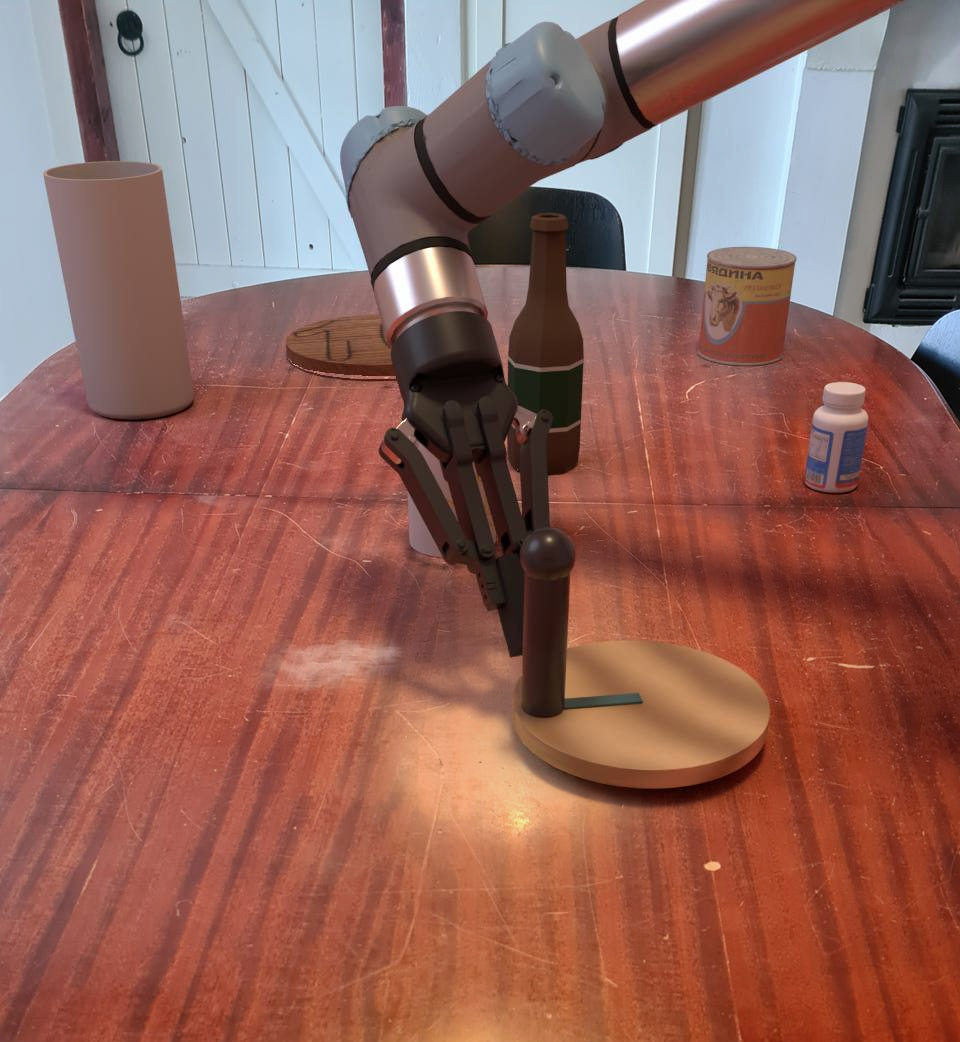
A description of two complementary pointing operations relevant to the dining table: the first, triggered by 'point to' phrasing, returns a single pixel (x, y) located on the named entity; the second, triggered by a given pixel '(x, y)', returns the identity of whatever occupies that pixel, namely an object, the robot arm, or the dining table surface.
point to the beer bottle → (548, 349)
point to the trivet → (342, 347)
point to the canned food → (746, 305)
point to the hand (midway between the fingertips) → (526, 649)
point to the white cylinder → (418, 529)
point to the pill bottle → (837, 439)
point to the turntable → (625, 694)
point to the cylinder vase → (121, 286)
